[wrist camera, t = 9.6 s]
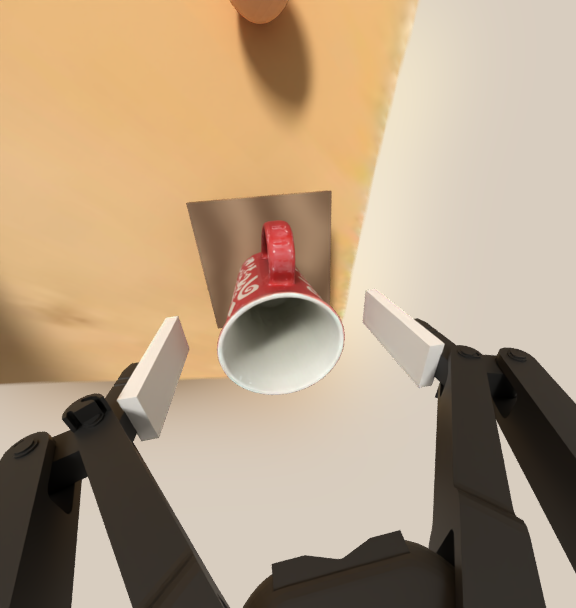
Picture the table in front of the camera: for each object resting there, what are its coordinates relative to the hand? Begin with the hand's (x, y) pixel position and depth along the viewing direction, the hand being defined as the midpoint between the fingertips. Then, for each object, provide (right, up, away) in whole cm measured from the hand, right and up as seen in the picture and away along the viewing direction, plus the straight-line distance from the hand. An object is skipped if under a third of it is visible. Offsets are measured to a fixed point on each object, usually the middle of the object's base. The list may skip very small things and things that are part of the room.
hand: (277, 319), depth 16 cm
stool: (-3, +9, +18) cm, 20 cm away
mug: (-1, +6, +11) cm, 13 cm away
